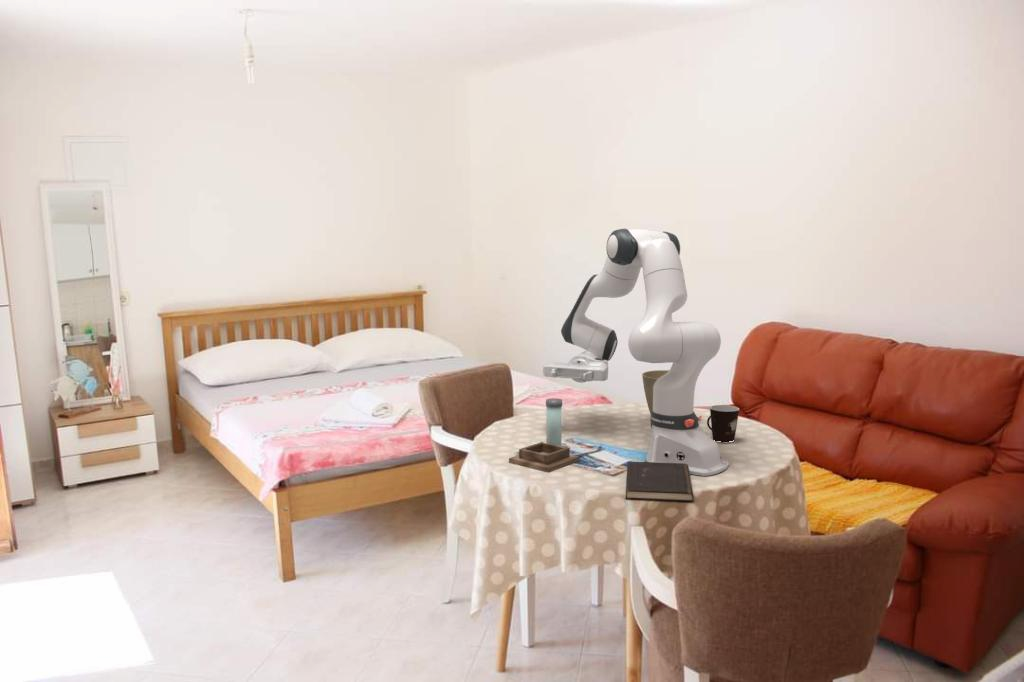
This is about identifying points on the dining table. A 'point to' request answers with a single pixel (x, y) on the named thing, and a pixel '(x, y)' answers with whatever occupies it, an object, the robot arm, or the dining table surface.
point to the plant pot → (651, 384)
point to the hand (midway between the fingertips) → (567, 376)
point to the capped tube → (553, 421)
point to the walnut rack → (544, 457)
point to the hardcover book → (658, 481)
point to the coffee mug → (723, 422)
